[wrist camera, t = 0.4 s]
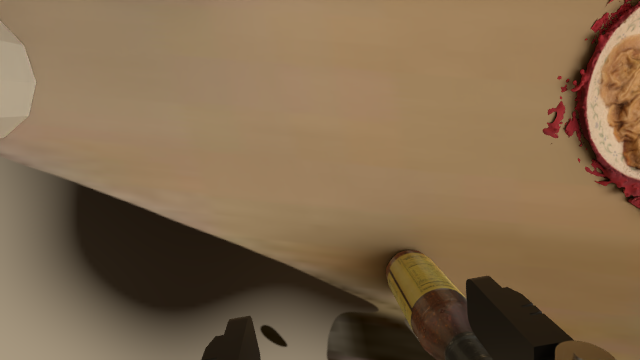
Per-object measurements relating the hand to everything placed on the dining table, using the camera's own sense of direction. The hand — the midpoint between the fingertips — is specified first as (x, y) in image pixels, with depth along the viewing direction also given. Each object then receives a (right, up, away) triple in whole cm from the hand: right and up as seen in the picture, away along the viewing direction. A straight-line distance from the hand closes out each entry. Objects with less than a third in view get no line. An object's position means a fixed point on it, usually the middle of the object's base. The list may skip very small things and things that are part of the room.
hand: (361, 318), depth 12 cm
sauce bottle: (+10, -6, +32) cm, 34 cm away
